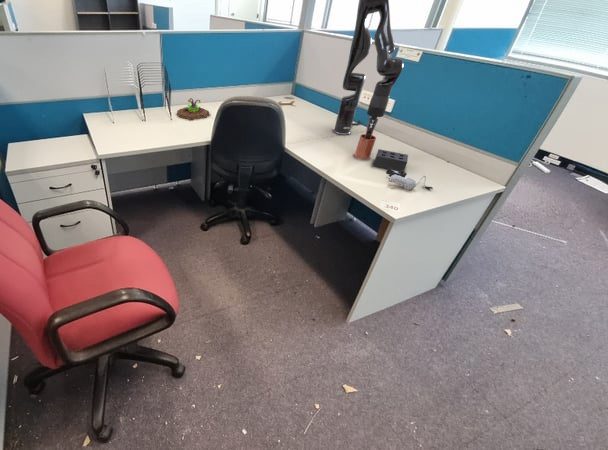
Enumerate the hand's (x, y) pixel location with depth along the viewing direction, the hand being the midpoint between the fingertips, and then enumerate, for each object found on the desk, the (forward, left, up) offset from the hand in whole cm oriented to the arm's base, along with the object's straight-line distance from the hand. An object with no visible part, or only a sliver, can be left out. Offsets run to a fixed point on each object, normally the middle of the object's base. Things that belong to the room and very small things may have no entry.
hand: (367, 140), depth 165 cm
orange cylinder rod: (0, 0, -6) cm, 6 cm away
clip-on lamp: (+22, +22, -10) cm, 33 cm away
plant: (-14, -110, -10) cm, 111 cm away
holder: (+5, +13, -9) cm, 17 cm away
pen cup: (0, 0, -9) cm, 9 cm away
